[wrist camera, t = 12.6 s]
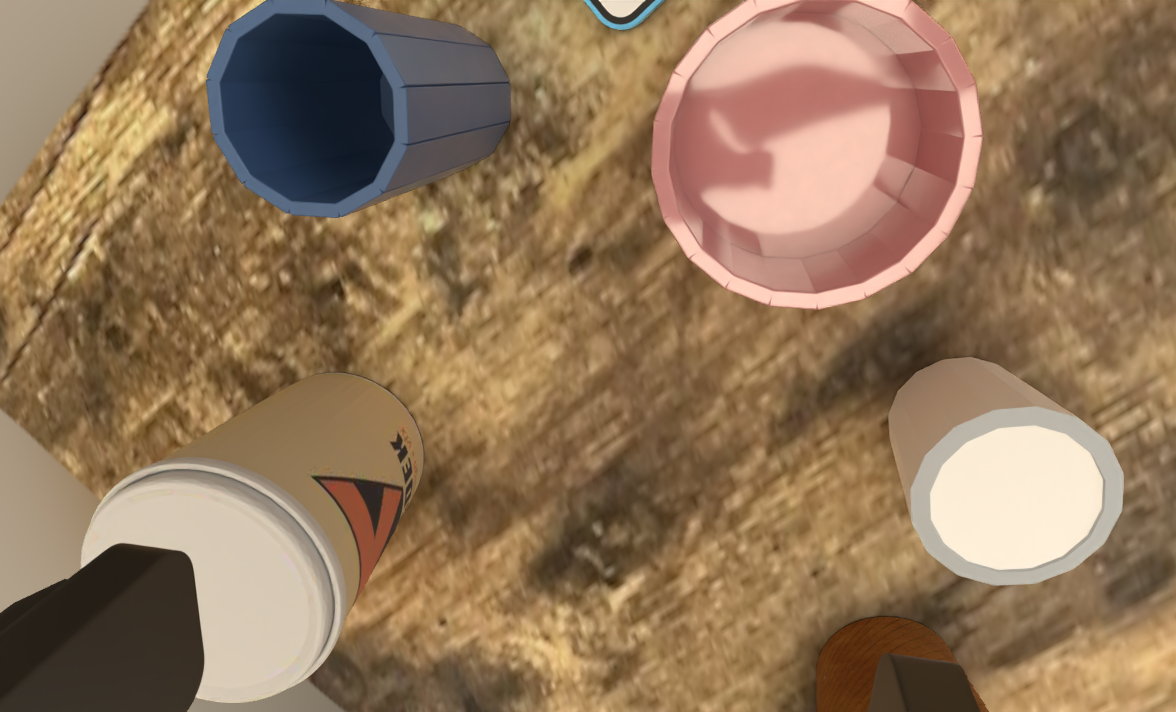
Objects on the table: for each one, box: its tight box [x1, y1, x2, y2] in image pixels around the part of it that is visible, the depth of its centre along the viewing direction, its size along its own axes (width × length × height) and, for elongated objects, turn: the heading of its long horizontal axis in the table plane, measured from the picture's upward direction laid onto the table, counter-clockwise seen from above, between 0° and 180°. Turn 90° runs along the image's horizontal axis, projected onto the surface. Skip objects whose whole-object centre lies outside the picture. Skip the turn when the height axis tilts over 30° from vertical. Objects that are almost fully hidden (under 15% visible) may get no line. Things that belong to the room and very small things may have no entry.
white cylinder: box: [888, 357, 1124, 586], centre depth 31 cm, size 7×7×7 cm
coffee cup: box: [81, 373, 424, 703], centre depth 33 cm, size 9×9×12 cm
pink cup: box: [651, 0, 984, 310], centre depth 29 cm, size 10×10×6 cm
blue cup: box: [206, 0, 510, 218], centre depth 28 cm, size 6×6×12 cm
